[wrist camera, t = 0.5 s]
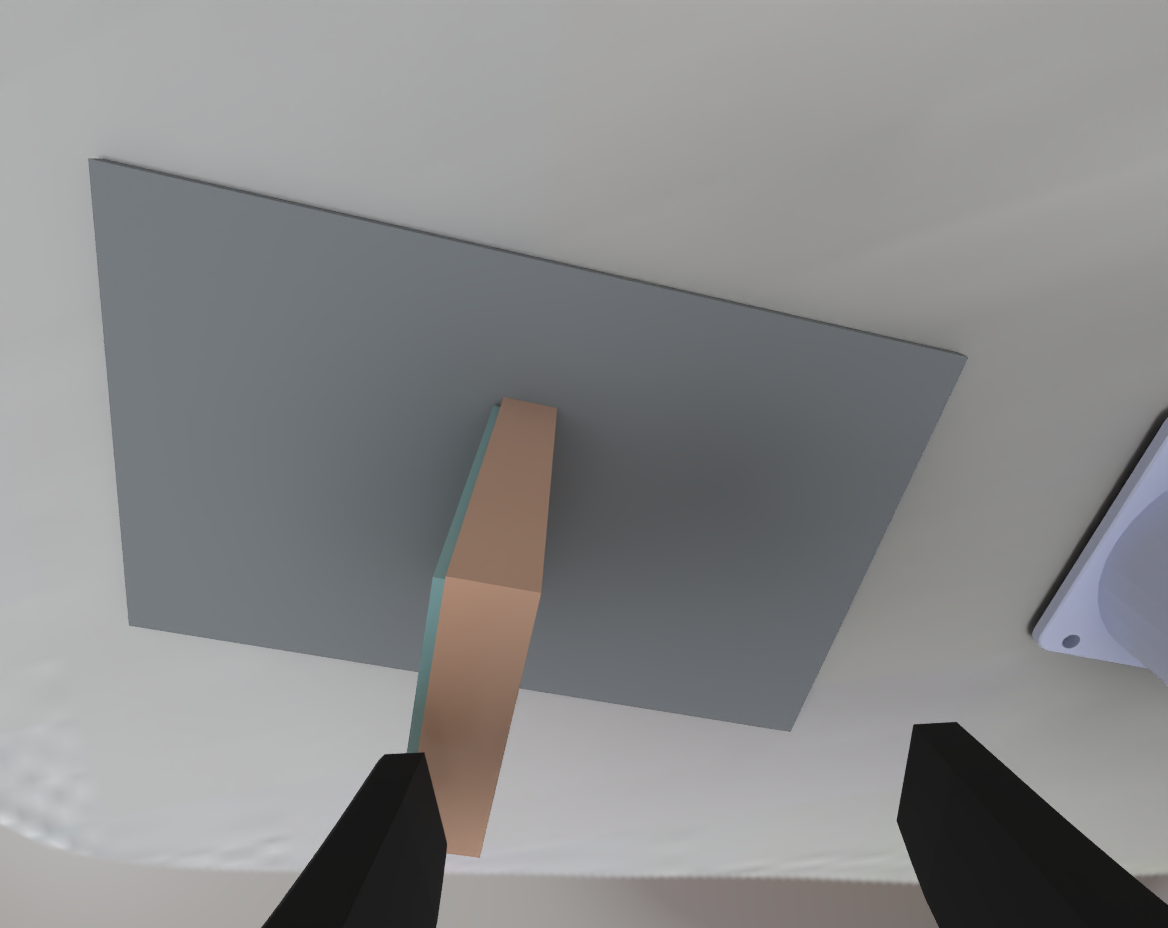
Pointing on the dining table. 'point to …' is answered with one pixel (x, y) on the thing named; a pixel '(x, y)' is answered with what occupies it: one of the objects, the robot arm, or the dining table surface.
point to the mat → (453, 434)
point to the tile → (483, 618)
